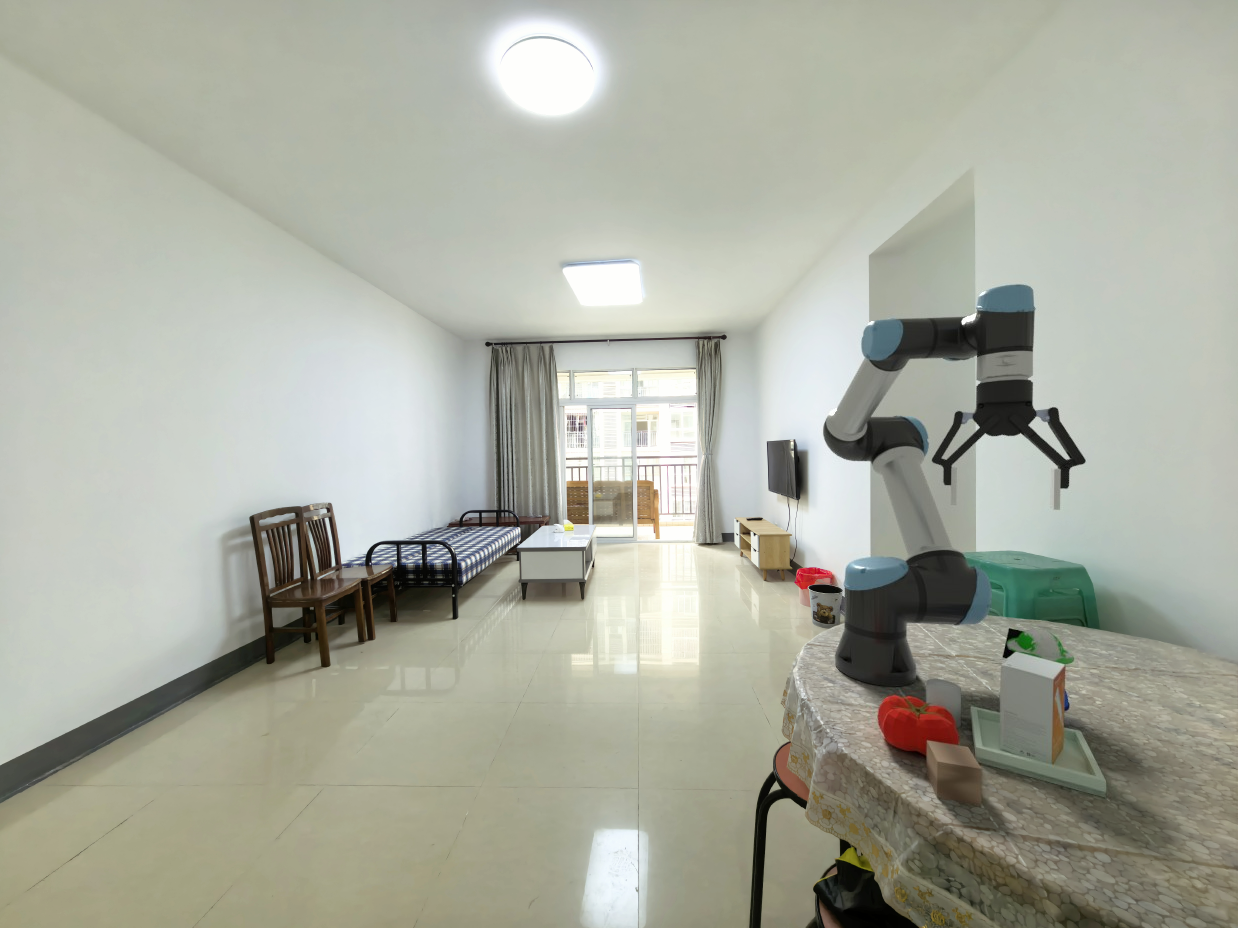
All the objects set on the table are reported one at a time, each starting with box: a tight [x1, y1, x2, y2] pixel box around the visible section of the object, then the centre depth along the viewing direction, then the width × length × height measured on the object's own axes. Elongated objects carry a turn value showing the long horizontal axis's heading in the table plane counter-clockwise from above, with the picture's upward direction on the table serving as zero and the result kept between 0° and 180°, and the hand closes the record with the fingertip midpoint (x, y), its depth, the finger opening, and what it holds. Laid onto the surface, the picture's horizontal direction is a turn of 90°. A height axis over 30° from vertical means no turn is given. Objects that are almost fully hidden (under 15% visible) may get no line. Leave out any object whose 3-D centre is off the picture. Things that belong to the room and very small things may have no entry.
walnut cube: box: [925, 740, 983, 807], centre depth 67 cm, size 5×5×5 cm
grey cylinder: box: [925, 678, 962, 729], centre depth 84 cm, size 5×5×6 cm
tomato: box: [877, 694, 960, 757], centre depth 76 cm, size 10×11×6 cm
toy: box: [1002, 627, 1075, 712], centre depth 85 cm, size 9×9×15 cm
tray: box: [970, 705, 1107, 799], centre depth 75 cm, size 14×14×2 cm
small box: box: [999, 652, 1067, 765], centre depth 74 cm, size 8×6×13 cm
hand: (1001, 506), depth 83 cm, fingers open, 13 cm apart
